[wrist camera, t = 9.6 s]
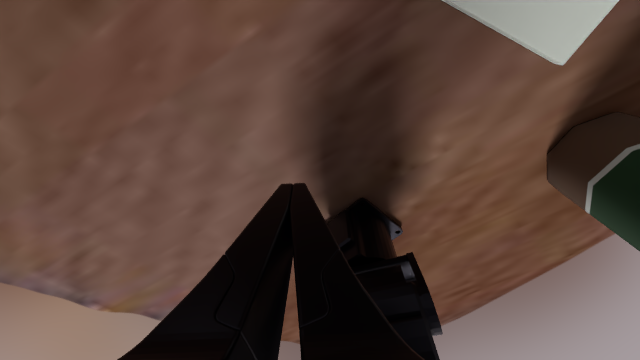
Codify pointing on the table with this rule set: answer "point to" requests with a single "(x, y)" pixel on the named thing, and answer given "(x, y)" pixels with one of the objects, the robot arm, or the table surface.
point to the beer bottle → (602, 171)
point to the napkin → (540, 22)
